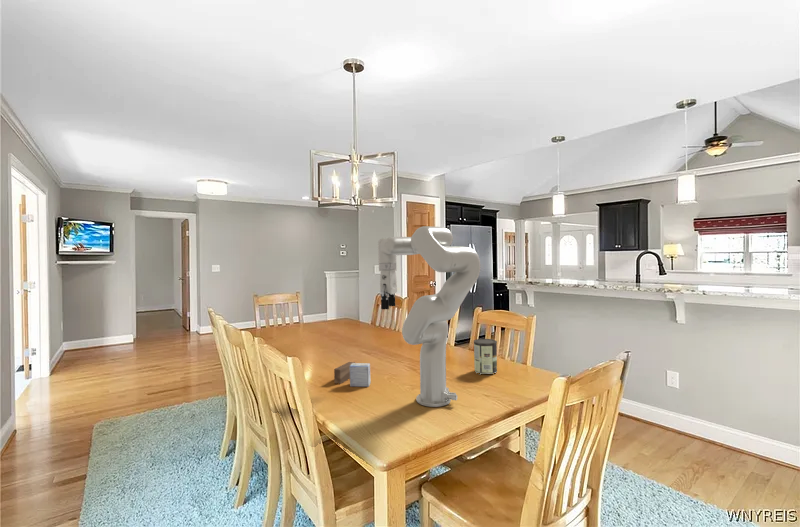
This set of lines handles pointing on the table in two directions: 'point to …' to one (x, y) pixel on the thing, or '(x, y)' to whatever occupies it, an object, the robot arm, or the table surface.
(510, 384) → the table surface
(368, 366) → the medicine box
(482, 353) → the coffee can
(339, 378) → the walnut block
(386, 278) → the robot arm
